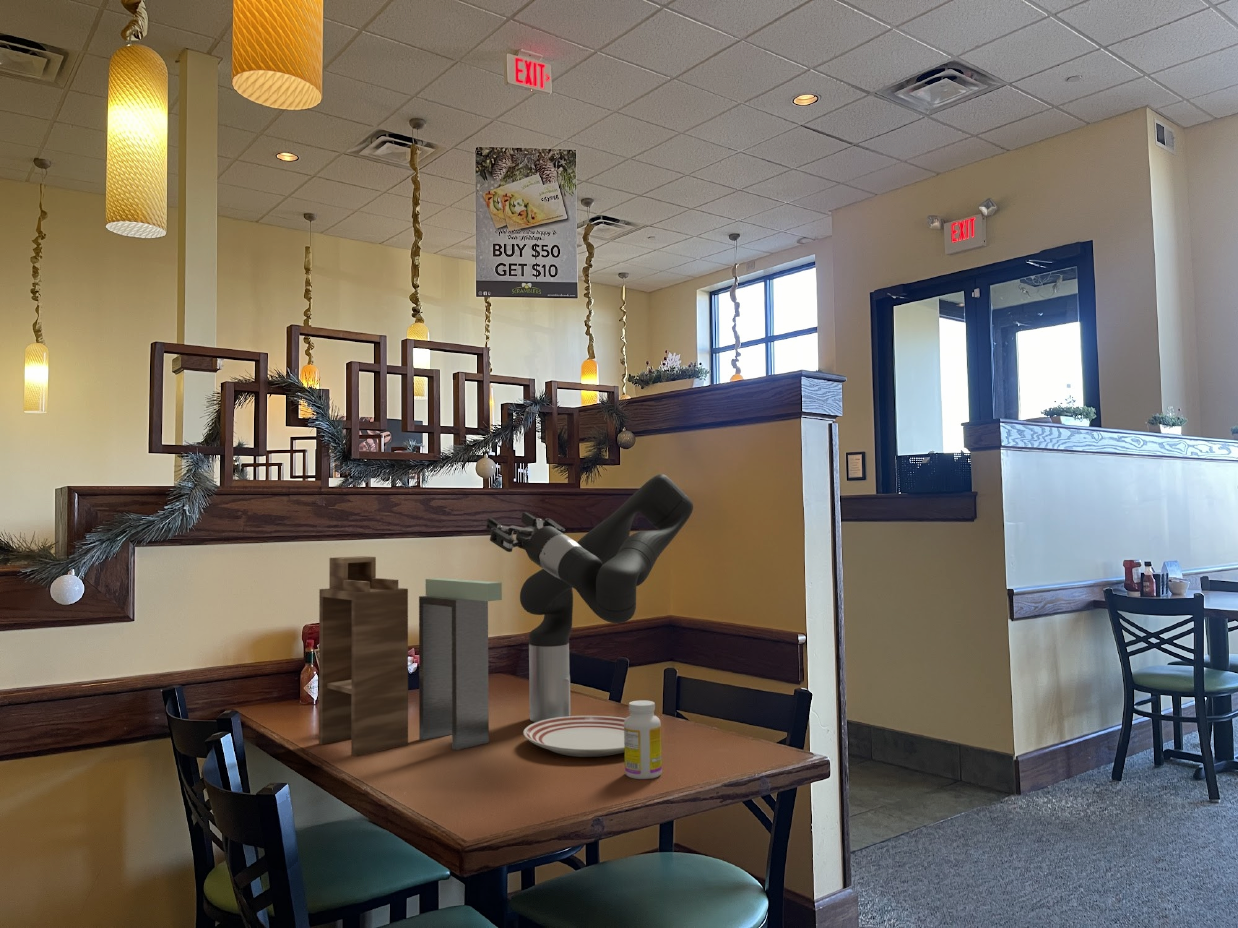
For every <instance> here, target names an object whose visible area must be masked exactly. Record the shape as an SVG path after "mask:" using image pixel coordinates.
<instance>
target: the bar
mask: <svg viewBox="0 0 1238 928" xmlns="http://www.w3.org/2000/svg"><path fill="white" fill-rule="evenodd" d="M502 585H503V584H502V582H499V581H489V580H487V581H486V580H475V579H474V580H471V579H459V578H458V579H457V578H444V577H439V578H438V577H435V578H426V579H425V596H437V597H448V598H458V599H469V600H479V601H488V602H494V601H502V600H503V599H502V598H503V597H502V595H503V593H502V590H503V589H502Z"/></svg>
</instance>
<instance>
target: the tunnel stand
mask: <svg viewBox="0 0 1238 928" xmlns="http://www.w3.org/2000/svg"><path fill="white" fill-rule="evenodd" d="M376 562H377V559H376V556H366V555H365V556H364V555H362V556H361V555H359V556H358V555H357V556H338V557H329V562H328V563H329V564H328V565H329V569H328V570H329V571H328V572H329V577H328V578H329V581H328V582H329V584H328V585H329V588H319V589H318V590H319V592H318V593H319V595H318V596H319V598H318V599H319V600H318V601H319V605H318V606H319V607H318V609H319V618H318V619H319V621H318V623H319V624H318V625H319V628H318V630H319V631H318V633H319V635H318V638H319V639H318V643H319V644H318V651H319V652H318V655H319V656H318V662H319V663H318V684H319V685H318V744H319V745H321V746H322V745H326V744H331V743H332V744H333V743H336V742H343V741H346V740H351V744H350V745H351V746H350V747H351V748H350V750H351V752H350V753H351V756H354V757H357V756H362V755H367V754H371V753H372V754H373V753H376V752H381V751H384V750H385V751H386V750H390V749H394V748H399V747H403V746H408V745H409V588H403V587H399V579H393V578H392V579H391V578H379V577H377V575H376V574H377V572H376V571H377V568H376V567H377V566H376V565H377V564H376Z"/></svg>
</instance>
